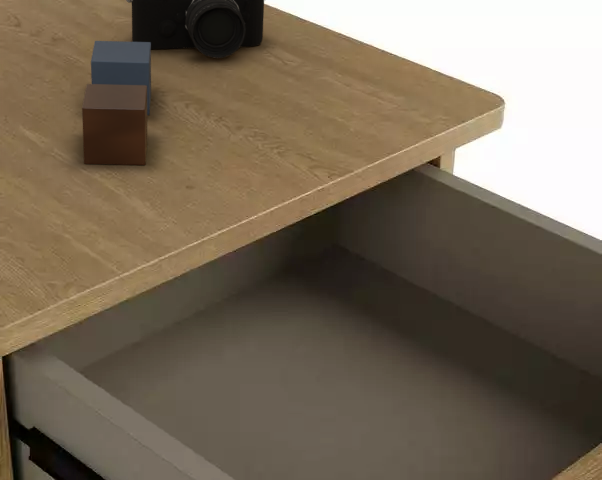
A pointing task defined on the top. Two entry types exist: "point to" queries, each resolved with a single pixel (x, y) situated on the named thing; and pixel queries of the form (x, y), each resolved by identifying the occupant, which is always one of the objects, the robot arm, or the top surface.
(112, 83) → the slate block
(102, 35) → the top surface
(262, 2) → the camera
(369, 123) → the top surface
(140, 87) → the walnut block
